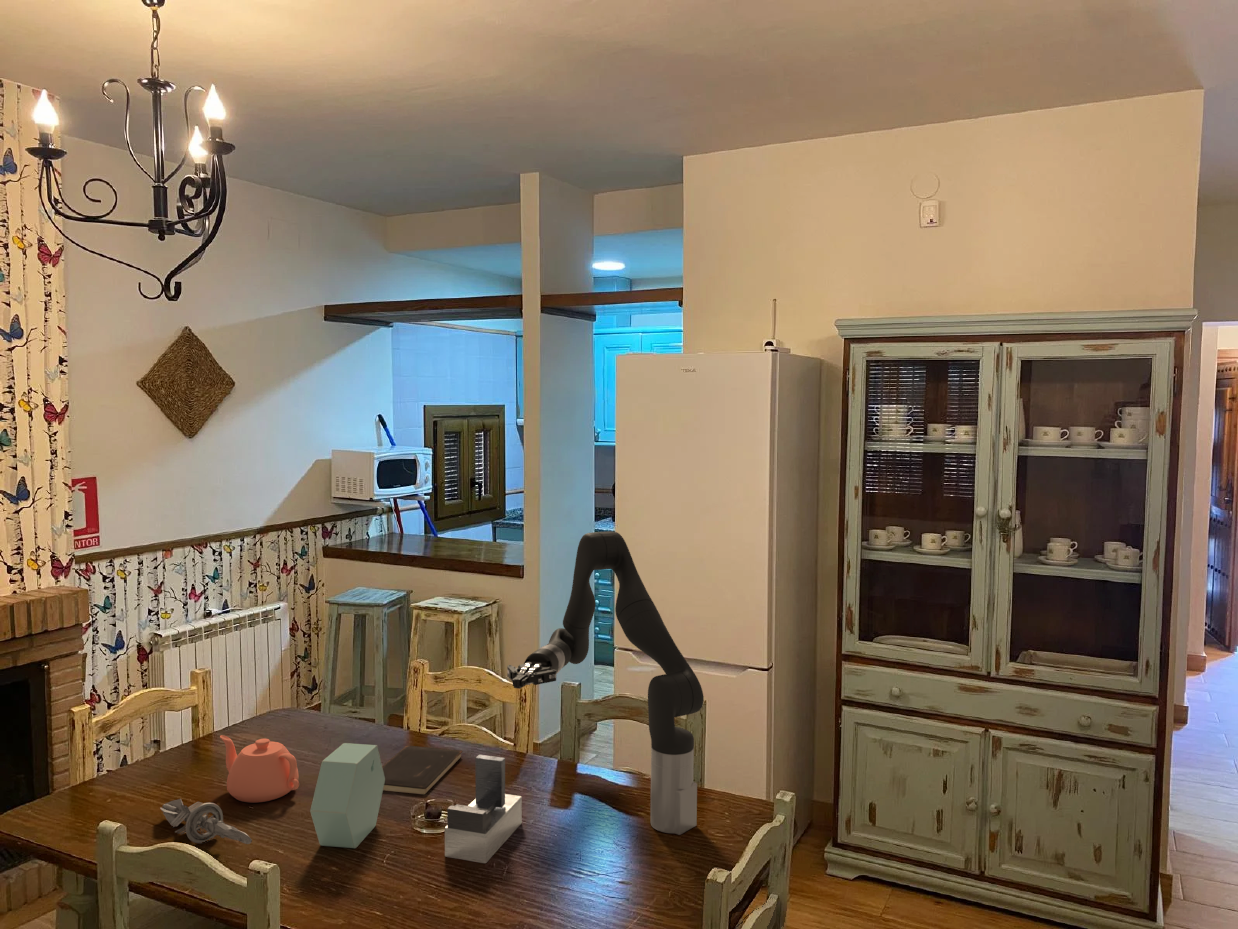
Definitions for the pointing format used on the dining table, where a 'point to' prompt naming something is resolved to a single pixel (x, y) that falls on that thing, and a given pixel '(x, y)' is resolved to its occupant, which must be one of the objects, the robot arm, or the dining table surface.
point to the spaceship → (201, 821)
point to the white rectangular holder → (480, 829)
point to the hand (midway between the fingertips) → (516, 684)
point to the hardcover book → (417, 768)
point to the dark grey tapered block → (490, 782)
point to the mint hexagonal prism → (348, 795)
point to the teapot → (260, 771)
